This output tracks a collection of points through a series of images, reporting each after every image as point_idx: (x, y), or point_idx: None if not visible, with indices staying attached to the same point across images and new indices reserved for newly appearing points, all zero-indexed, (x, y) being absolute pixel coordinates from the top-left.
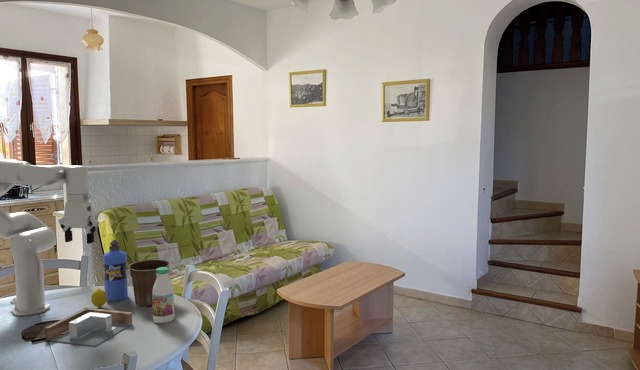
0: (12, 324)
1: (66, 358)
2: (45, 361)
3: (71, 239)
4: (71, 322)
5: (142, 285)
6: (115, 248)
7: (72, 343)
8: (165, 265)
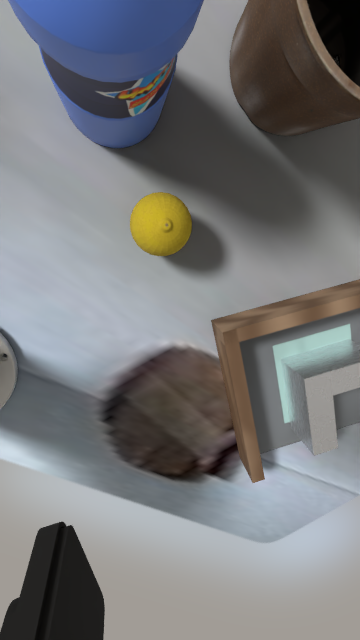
0: (45, 456)
1: (357, 474)
2: (329, 501)
3: (72, 554)
4: (319, 451)
5: None
6: None
7: None
8: None
